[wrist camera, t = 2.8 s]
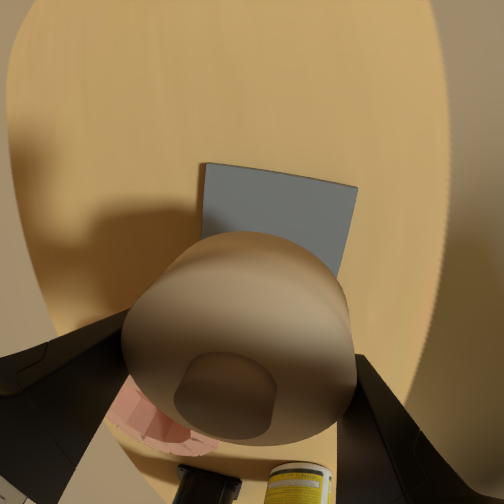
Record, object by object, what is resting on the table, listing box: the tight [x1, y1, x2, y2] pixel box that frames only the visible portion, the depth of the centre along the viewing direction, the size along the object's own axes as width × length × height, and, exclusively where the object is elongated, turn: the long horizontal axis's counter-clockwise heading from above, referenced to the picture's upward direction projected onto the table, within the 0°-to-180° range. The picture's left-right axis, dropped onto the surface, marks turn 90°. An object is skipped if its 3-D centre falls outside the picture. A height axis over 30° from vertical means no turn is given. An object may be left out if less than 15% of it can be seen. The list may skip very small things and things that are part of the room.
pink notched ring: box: [105, 374, 220, 456], centre depth 16 cm, size 8×8×4 cm
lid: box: [121, 231, 357, 446], centre depth 8 cm, size 6×6×4 cm
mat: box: [201, 162, 358, 278], centre depth 13 cm, size 9×6×1 cm, turn 173°
